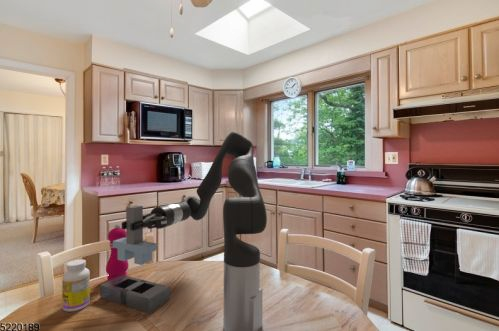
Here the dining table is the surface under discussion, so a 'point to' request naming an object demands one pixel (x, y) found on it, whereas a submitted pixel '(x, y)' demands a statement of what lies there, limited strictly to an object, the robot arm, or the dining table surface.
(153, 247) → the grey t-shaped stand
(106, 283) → the dark grey rectangular block
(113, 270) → the pepper mill
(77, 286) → the supplement bottle
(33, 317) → the dining table surface
